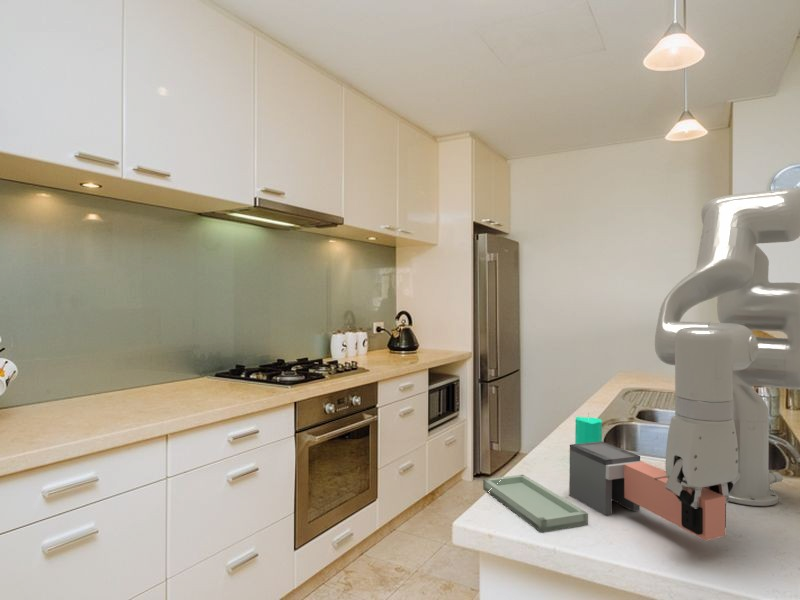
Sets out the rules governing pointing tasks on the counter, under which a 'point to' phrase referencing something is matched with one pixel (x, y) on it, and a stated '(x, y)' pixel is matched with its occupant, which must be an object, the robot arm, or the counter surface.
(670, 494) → the terracotta pink bar
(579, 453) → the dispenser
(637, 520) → the counter surface
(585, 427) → the candle
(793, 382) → the robot arm
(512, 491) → the tray
